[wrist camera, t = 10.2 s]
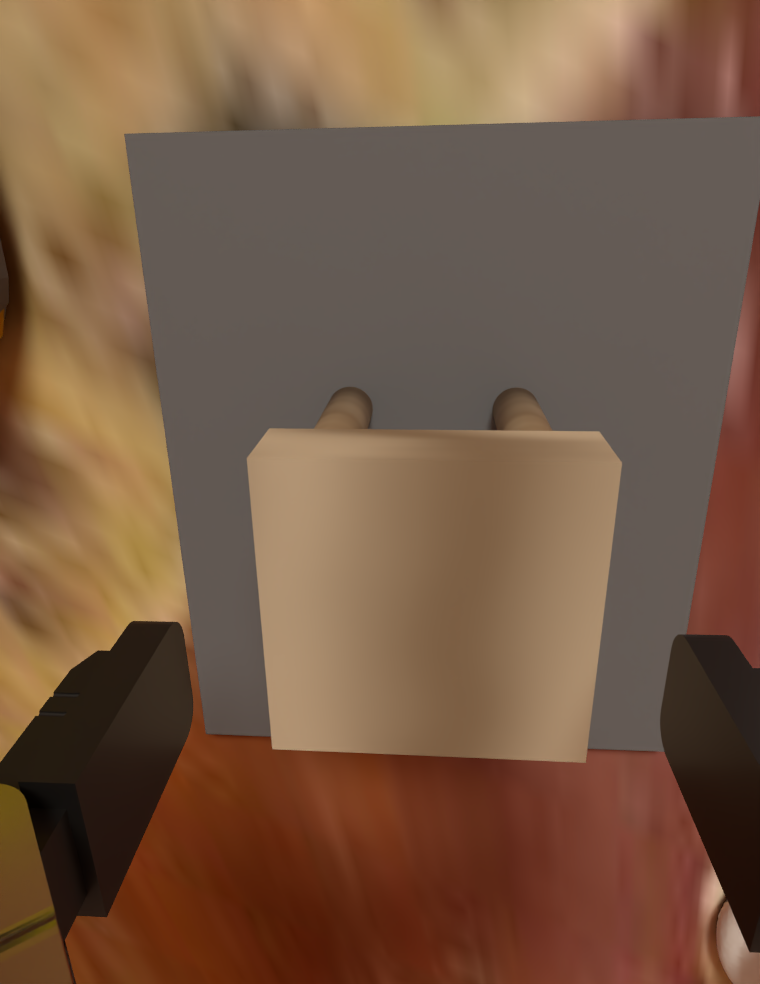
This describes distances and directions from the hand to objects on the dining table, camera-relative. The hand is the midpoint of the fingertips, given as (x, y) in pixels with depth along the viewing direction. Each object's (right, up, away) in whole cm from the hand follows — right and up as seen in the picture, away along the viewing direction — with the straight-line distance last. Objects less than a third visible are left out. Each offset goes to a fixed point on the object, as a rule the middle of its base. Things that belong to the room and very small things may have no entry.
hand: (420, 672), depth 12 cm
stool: (+1, +3, +8) cm, 9 cm away
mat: (+1, +3, +9) cm, 9 cm away
